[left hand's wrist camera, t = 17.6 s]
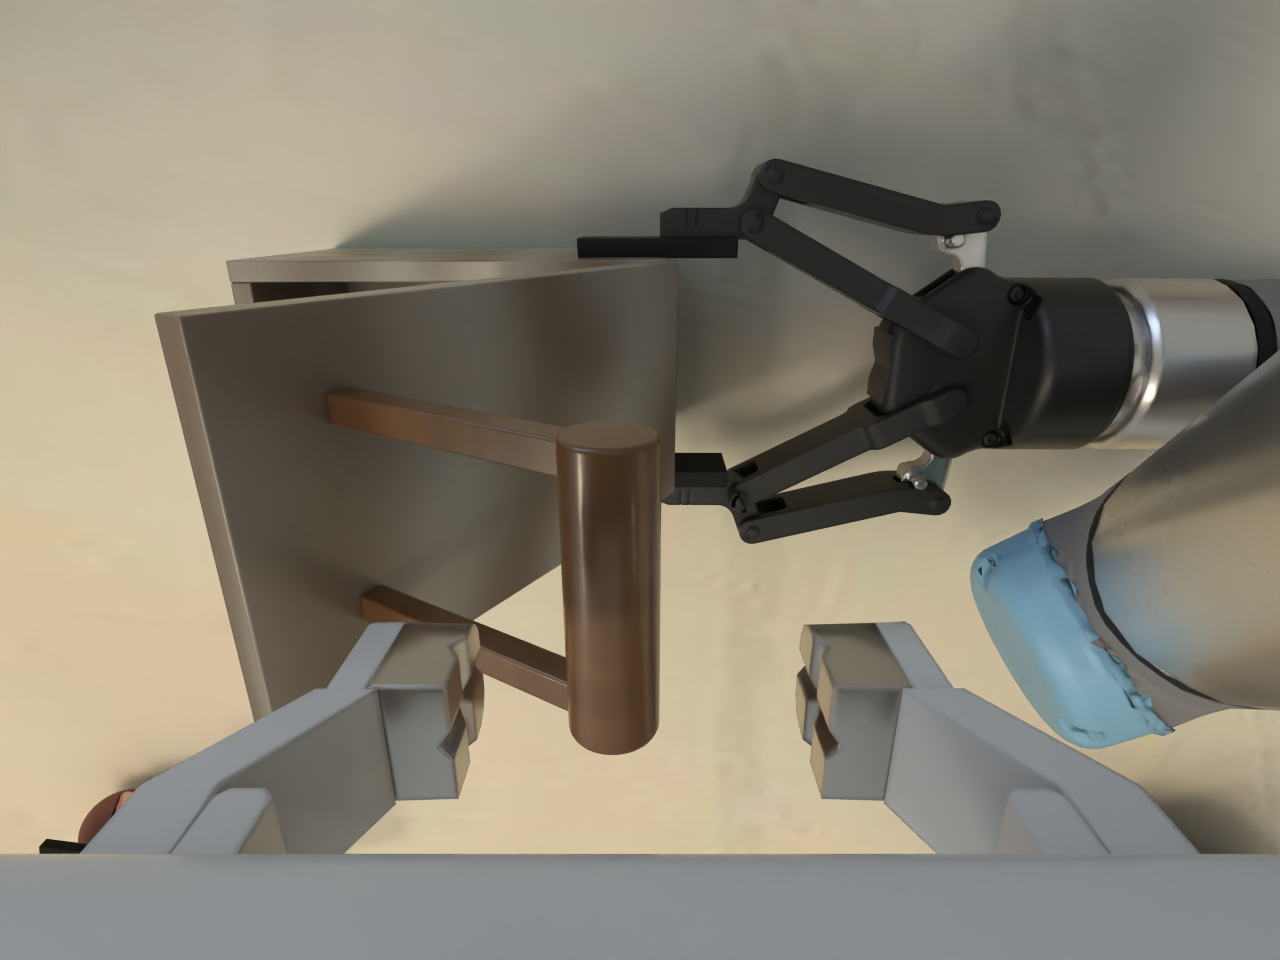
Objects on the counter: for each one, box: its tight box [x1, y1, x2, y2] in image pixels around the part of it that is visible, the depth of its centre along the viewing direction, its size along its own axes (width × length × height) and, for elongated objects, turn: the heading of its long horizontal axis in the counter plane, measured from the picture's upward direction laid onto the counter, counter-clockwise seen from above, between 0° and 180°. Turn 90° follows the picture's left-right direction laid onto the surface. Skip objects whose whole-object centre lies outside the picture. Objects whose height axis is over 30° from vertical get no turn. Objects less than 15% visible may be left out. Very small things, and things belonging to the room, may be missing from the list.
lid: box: [155, 260, 678, 755], centre depth 19 cm, size 18×9×9 cm
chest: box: [226, 248, 667, 305], centre depth 33 cm, size 17×9×10 cm, turn 90°
